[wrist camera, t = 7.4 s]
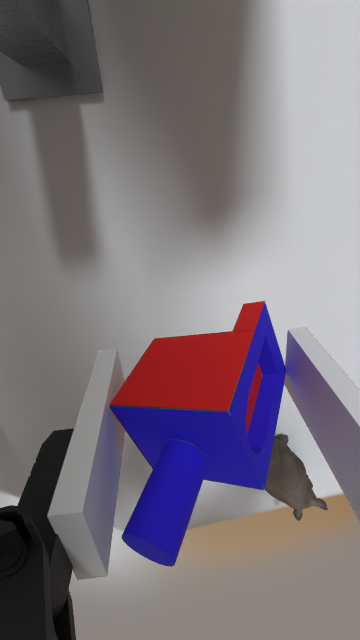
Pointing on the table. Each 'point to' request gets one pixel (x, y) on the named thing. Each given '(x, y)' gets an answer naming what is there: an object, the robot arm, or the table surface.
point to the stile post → (47, 49)
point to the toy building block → (200, 422)
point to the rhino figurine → (290, 479)
